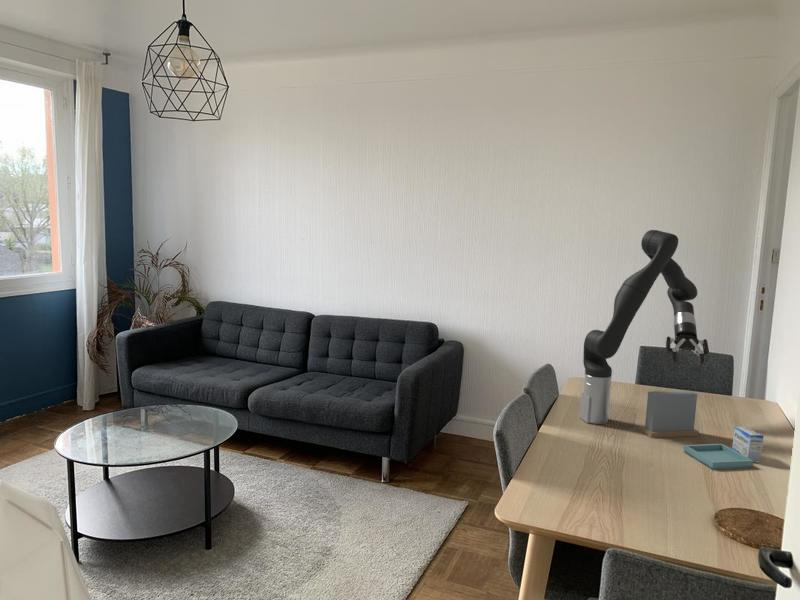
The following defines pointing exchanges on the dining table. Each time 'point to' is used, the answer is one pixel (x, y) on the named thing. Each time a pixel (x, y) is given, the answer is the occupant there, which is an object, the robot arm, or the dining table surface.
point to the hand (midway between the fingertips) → (688, 363)
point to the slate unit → (670, 414)
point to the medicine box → (748, 443)
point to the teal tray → (718, 456)
